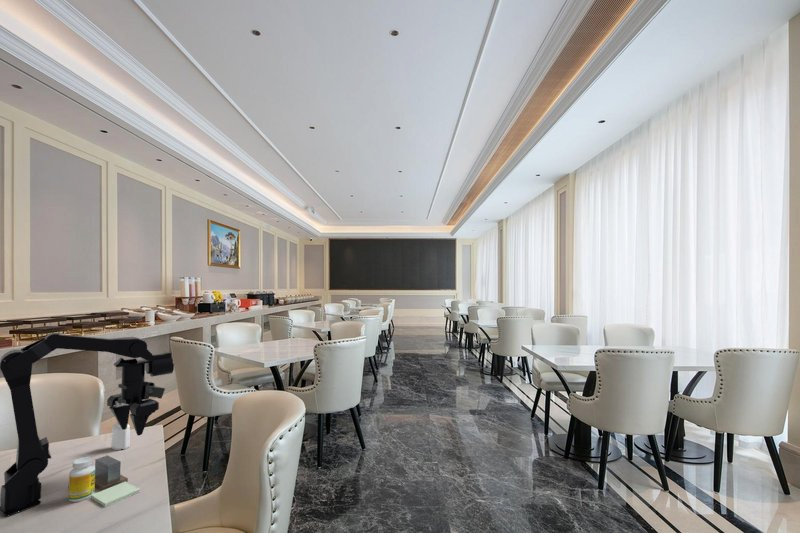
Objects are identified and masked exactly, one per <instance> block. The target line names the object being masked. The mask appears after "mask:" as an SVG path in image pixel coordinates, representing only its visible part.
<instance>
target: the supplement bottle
mask: <svg viewBox="0 0 800 533" xmlns="http://www.w3.org/2000/svg"><path fill="white" fill-rule="evenodd" d="M92 463H93V457H92V456H85V457H80V458H77V459H75V460H74V461H73V462H72V469H71V470H70V471H69V474H68V500H67V501H69V502H71V503H76V502H77V503H78V502H82V501H85V500H87V499H89V498H91V495H93V494H95V488H96V487H95V464H92Z"/></svg>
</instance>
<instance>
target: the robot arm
mask: <svg viewBox="0 0 800 533" xmlns="http://www.w3.org/2000/svg"><path fill="white" fill-rule="evenodd" d="M57 349H58V350H59V349H60V350H75V351H90V352H102V353H103V352H104V353H111V354H114V355H118V356H121V357H119V359H118V360H116V362H114V363H113V366H114V367H116V368H121V383H118V384H117V385H118V386H117V388H120V393H118V394H114V395H113V394H112V395H110V396H109V397H108V398H107V400H106V402H107V403H106V405H107V407H109V410H110V411H111V413H112V414H113V416H114V417H115V420H116V422H117V421H118V423H119V425H120V426H121V428H122V430H124V429H127V425H128V424H129V418H130V419H131V422H132V425H133V428H134V430H135V431H134V432H135V433H136V435H137V436H141V435H143V432H144V430H145V427H146V424H147V421H148V420H149V417H150V416H151V415H152V414H154V413H155V412H156V411H158V410H159V409H160V402H158V401H157V400H156V399H152V398H157V399H162V398H163V396H164V393H165V390H166V388H164V387H161V386H157V385H155V382H151V381H145V380H146V379H145V375H146V374H147V375H150V377H151V378H152V377H159V376H165V375H171V374H173V373H174V370H175V364H174V360H173V357H172V353H171V352H163V353H157V354H153V353H152V352H151V351H150V350H148V345H147V342H146V341H145V340H144V339H141V338H139V337H136V336H130V337H129V336H128V337H127V336H126V337H116V338H115V337H113V338H105V337H94V336H86V335H83V336H82V335H74V334H73V335H72V334H64V333H63V334H62V333H58V332H51V333H48V334H47V335H46V336H43V337H42V338H41V339H38V340H36V341H35V342H32V343H30V344H28V345H26V346H24V347H22V348H21V349H19V348H18V349H12V350H9V351H7V352H6V353H4V354H3V355H2V356H1V357H0V372H1V373H2V376H3V378H4V380H5V382H6V384H7V387H8V388H9V390H10V396H11V401H12V408H13V415H14V420H15V427H16V433H17V439H18V440H17V446H16V447H17V448H16V459H15V462H14V463H13V464H12V465H11V466H9V468H7V470H5V471H4V473H3V476H4V477H3V478H4V484H2V485H1V486H0V488H1V490H0V511H1V512H2V513H1V512H0V513H1V514H2V515H3V514H4V515H5V516H4V515H3V516H4V517H9V516H8V515H10V516H12V515H14V513H15V514H17V513H16V512H18V511H20V512H22V510H23V511H25V509H26V510H28V509H30V508H33V507H36V506H38V505H41V503H42V502H41V500H40V499H41V498H42V482H41V481H39V480H40V477H39V475H40V474H41V473H43V471H45V470H46V468H47V467H48V466H49V459H52V455H51V451H50V442H49V439H48V437H47V436H46V437H44V438H40V437H39V434H38V428H37V422H36V421H37V420H36V414H35V410H34V409H35V408H34V404H33V396H32V391H31V390H32V389H31V380H32V369H33V364H34V363H36V362H38V361H40V360H41V359H43V358H44V357H46V356H47V355H49V354H50V353H52V352H53V351H56V350H57ZM122 356H123V357H126V358H130V359H124V358H123V357H122ZM138 358H141V359H143V360H138ZM129 416H130V417H129ZM27 508H28V509H27ZM18 513H19V512H18ZM11 514H12V515H11Z"/></svg>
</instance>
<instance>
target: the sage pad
mask: <svg viewBox="0 0 800 533" xmlns="http://www.w3.org/2000/svg"><path fill="white" fill-rule="evenodd" d="M138 493H141V489H140V488H139V487H138V486H135V485H134V484H132V483H129V481H128V482H126V481H125V482H123V483H120V484H118V485H115V486H113V487H110V488H108V489H105V490H103V491H101V490H100V491H98V492H94V494H93V495H91V497H90V498H91V499H92V500H93V501H95V502H97V503H98V504H100V505H101V506H103V507H104V508H106V507H108V506H111V505H113V504H115V503H118V502H120V501H122V500H125V499H127V498H129V497H132V496H133V495H136V494H138Z"/></svg>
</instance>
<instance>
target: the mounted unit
mask: <svg viewBox="0 0 800 533" xmlns="http://www.w3.org/2000/svg"><path fill="white" fill-rule="evenodd" d="M94 460H95V463H94V466H95V488H96V489H98V490H100V491H103V490H105V489H108V488H110V487H113V486H115V485H118V484H120V483H123V482H125V481H126V482H128V483H129V479H128V478H129V477H127V476H124V475H122V473H121V462H122V461H121V460H119V459H116V458H114V457H112V456H110V455H108V454H107V455H105V456H102V457H98V458H95V459H94Z"/></svg>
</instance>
